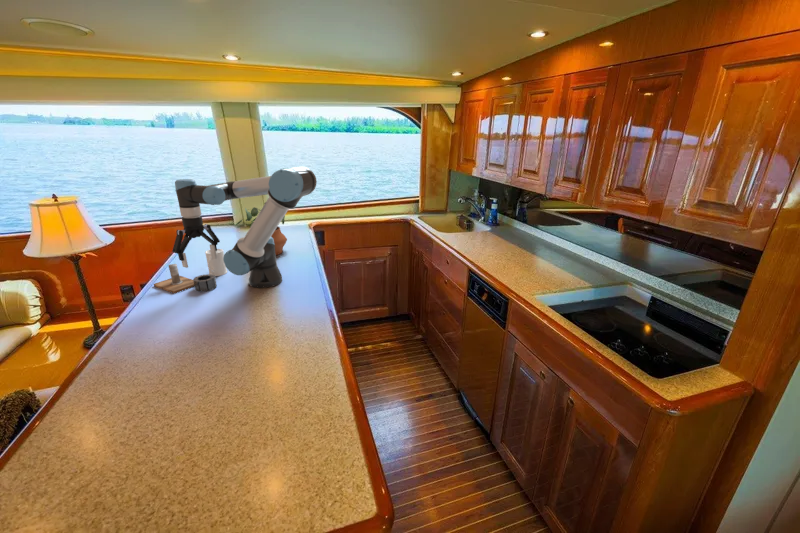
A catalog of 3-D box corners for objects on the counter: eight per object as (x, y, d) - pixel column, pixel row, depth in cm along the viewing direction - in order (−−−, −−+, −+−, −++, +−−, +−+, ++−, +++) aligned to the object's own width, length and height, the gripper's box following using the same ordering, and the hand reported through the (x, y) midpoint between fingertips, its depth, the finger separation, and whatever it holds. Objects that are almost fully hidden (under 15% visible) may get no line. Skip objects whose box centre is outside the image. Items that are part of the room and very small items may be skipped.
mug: (218, 279, 166) (213, 256, 161) (201, 278, 166) (196, 255, 162) (230, 270, 177) (227, 248, 172) (215, 269, 177) (211, 248, 173)
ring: (220, 286, 157) (218, 276, 156) (203, 293, 150) (201, 282, 149) (208, 282, 161) (207, 273, 159) (191, 289, 154) (189, 279, 152)
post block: (200, 284, 159) (196, 264, 156) (174, 293, 149) (169, 272, 146) (180, 277, 166) (175, 258, 162) (154, 286, 156) (148, 265, 152)
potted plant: (291, 255, 200) (286, 206, 190) (240, 262, 188) (231, 209, 178) (285, 245, 219) (280, 199, 209) (238, 250, 207) (230, 202, 197)
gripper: (212, 210, 156) (220, 253, 163) (155, 220, 135) (166, 269, 143) (223, 212, 153) (230, 256, 160) (166, 223, 132) (177, 272, 139)
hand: (200, 262), depth 151 cm, fingers open, 13 cm apart
